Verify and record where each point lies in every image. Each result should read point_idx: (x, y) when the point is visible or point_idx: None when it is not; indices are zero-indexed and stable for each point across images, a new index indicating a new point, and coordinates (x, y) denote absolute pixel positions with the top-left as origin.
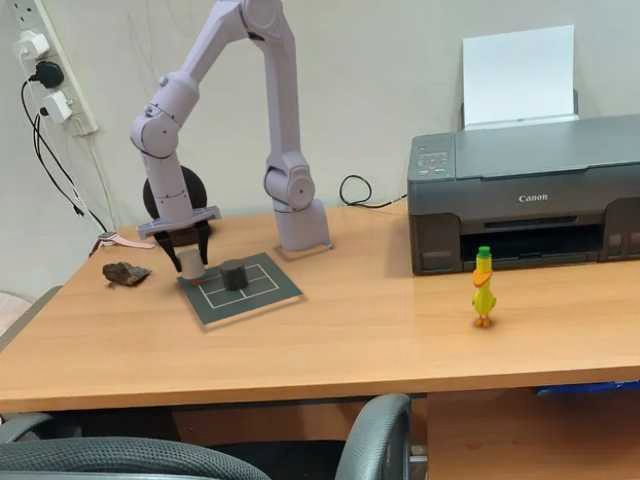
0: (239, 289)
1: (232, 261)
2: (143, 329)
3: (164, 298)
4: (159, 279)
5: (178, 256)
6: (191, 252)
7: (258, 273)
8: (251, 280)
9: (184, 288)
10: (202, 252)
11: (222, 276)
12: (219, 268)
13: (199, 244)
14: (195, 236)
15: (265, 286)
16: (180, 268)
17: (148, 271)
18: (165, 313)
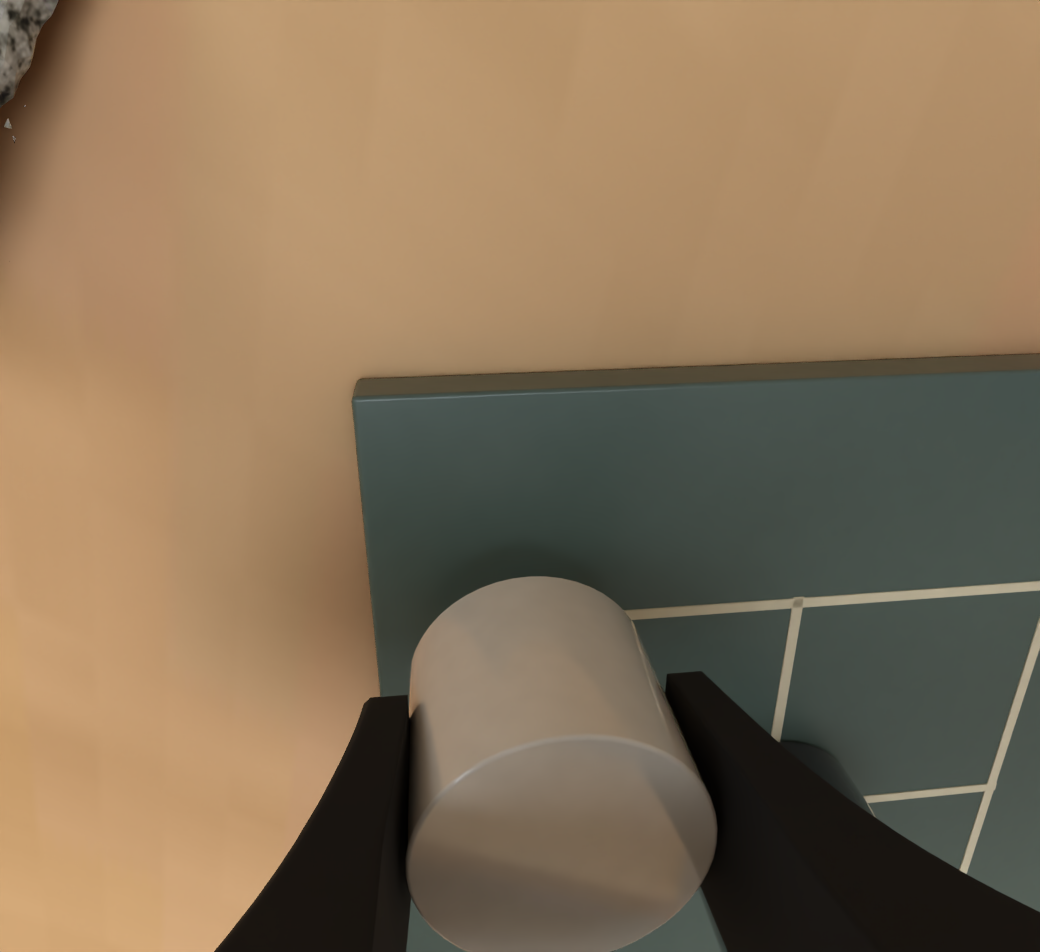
0: None
1: None
2: (42, 936)
3: (206, 599)
4: (165, 129)
5: (434, 888)
6: (609, 857)
7: (967, 724)
8: (874, 799)
9: (396, 665)
10: (717, 919)
11: (713, 928)
12: (784, 459)
13: (757, 950)
14: (809, 878)
15: None
16: None
17: (3, 62)
18: (205, 818)
